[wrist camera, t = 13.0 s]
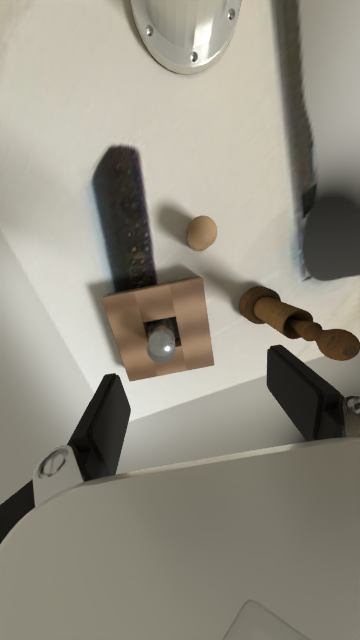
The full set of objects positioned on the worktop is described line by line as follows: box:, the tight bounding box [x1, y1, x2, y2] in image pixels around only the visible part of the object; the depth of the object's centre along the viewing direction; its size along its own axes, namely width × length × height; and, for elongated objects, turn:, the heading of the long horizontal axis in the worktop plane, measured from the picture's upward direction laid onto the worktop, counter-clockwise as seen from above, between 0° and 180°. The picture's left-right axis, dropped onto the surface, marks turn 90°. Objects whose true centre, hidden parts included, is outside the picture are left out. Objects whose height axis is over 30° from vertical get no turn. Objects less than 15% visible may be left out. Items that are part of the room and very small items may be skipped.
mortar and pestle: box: [240, 287, 360, 361], centre depth 24 cm, size 7×6×18 cm
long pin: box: [147, 318, 175, 363], centre depth 29 cm, size 4×4×9 cm
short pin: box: [187, 216, 217, 251], centre depth 26 cm, size 4×4×5 cm
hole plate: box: [101, 276, 214, 381], centre depth 31 cm, size 16×16×4 cm
